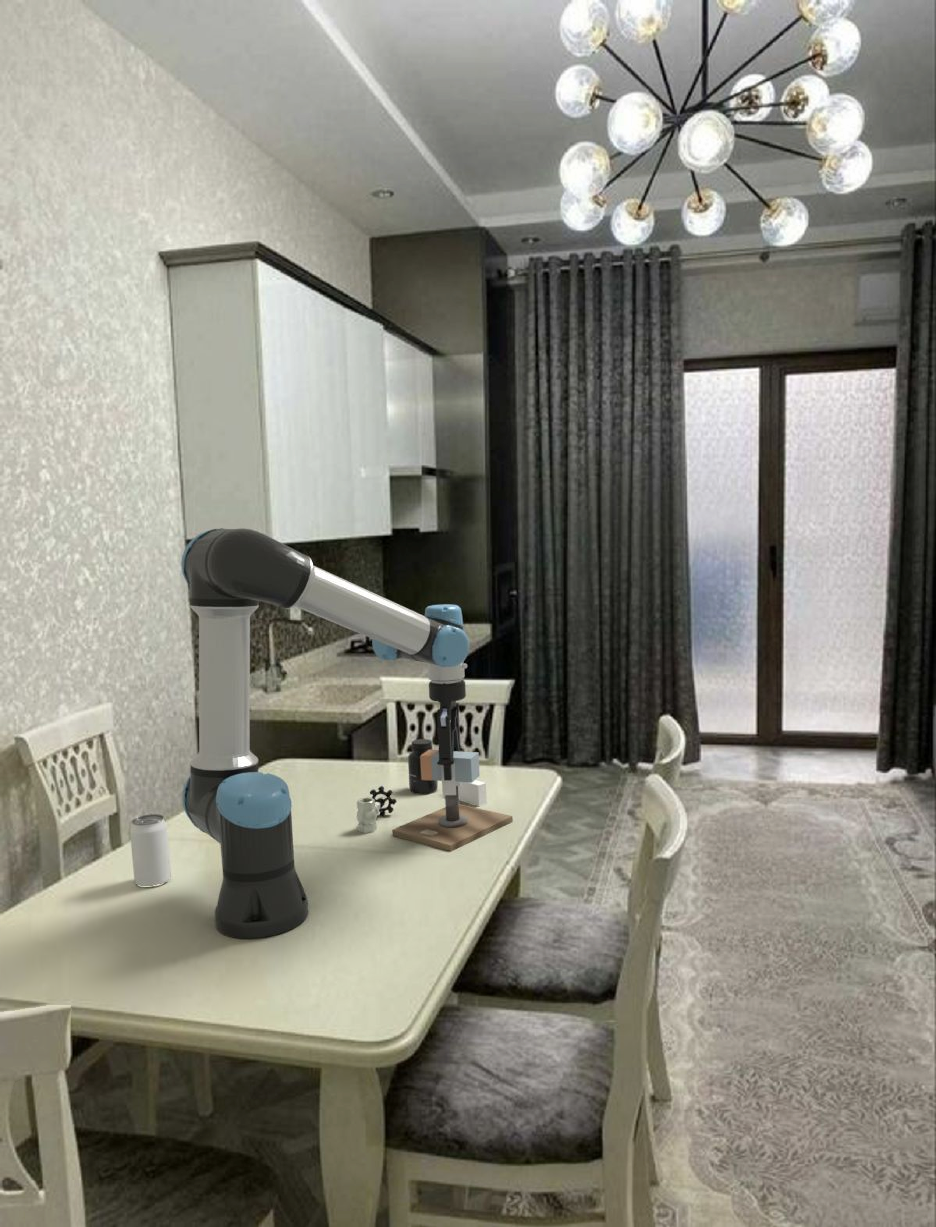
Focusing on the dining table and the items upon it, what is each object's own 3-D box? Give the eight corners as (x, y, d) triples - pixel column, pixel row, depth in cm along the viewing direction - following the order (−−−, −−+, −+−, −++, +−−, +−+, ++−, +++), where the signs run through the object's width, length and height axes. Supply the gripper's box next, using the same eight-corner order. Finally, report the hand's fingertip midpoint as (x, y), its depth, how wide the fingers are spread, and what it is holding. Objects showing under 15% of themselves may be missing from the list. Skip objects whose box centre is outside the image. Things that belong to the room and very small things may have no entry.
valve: (379, 834, 189) (397, 815, 201) (377, 804, 188) (395, 786, 200) (349, 833, 191) (369, 814, 202) (347, 802, 190) (367, 785, 202)
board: (451, 851, 178) (448, 805, 177) (392, 835, 188) (389, 792, 187) (512, 821, 193) (510, 779, 192) (455, 808, 203) (453, 768, 202)
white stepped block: (496, 809, 203) (495, 784, 202) (445, 812, 202) (444, 787, 202) (490, 789, 218) (489, 765, 217) (443, 792, 217) (442, 768, 216)
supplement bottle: (405, 794, 215) (402, 744, 214) (415, 785, 222) (412, 737, 220) (432, 795, 213) (430, 745, 212) (442, 786, 220) (439, 738, 218)
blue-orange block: (472, 789, 185) (470, 758, 185) (421, 786, 189) (420, 755, 188) (479, 782, 190) (478, 752, 189) (430, 779, 194) (429, 749, 193)
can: (178, 875, 172) (173, 814, 170) (158, 890, 166) (152, 826, 164) (148, 873, 173) (143, 812, 172) (127, 887, 167) (121, 824, 166)
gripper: (458, 688, 177) (463, 804, 180) (471, 671, 195) (475, 776, 198) (420, 689, 178) (425, 804, 181) (436, 672, 197) (441, 776, 199)
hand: (451, 789), depth 189 cm, fingers closed on blue-orange block, 5 cm apart
